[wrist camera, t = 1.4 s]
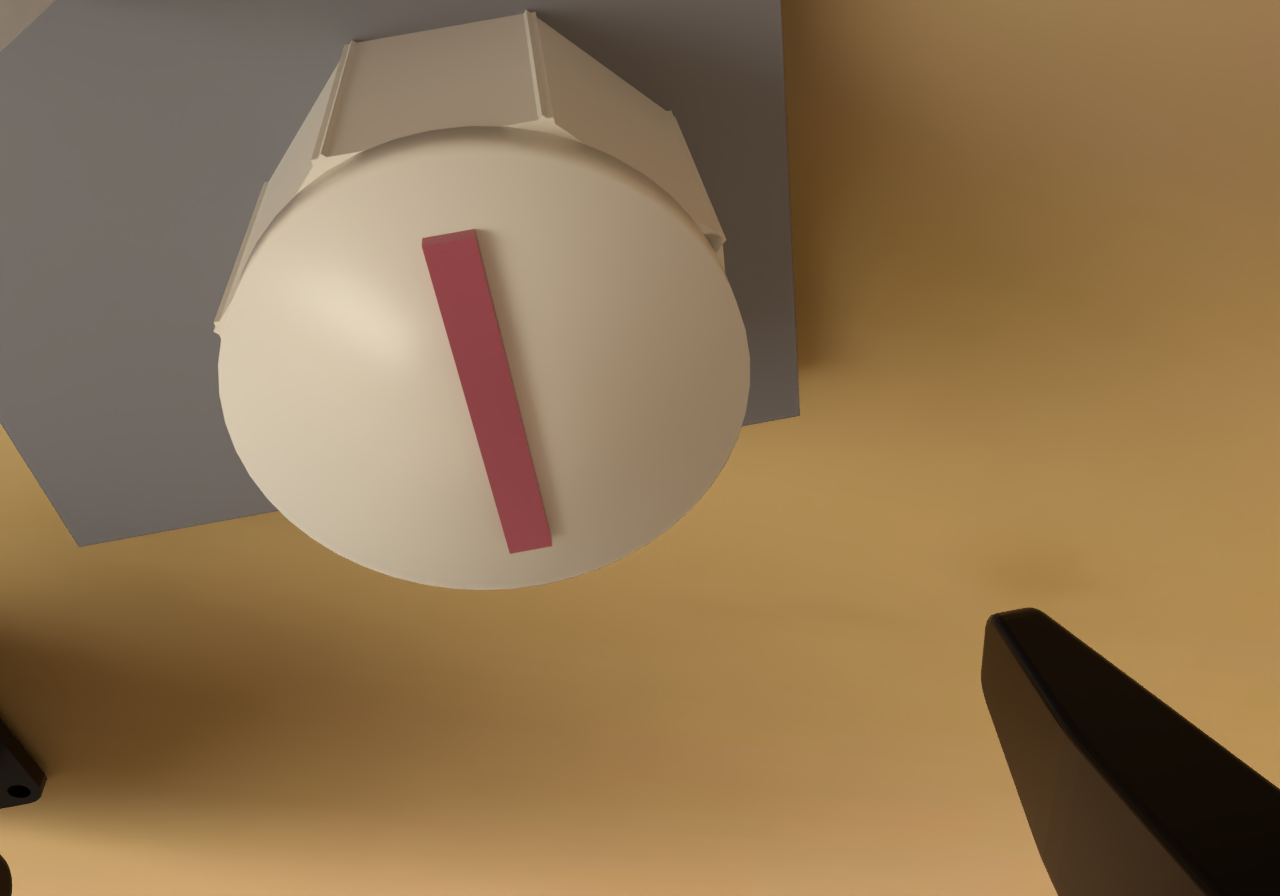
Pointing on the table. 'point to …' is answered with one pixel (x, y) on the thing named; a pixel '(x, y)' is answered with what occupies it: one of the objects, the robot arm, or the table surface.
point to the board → (230, 187)
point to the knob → (482, 314)
